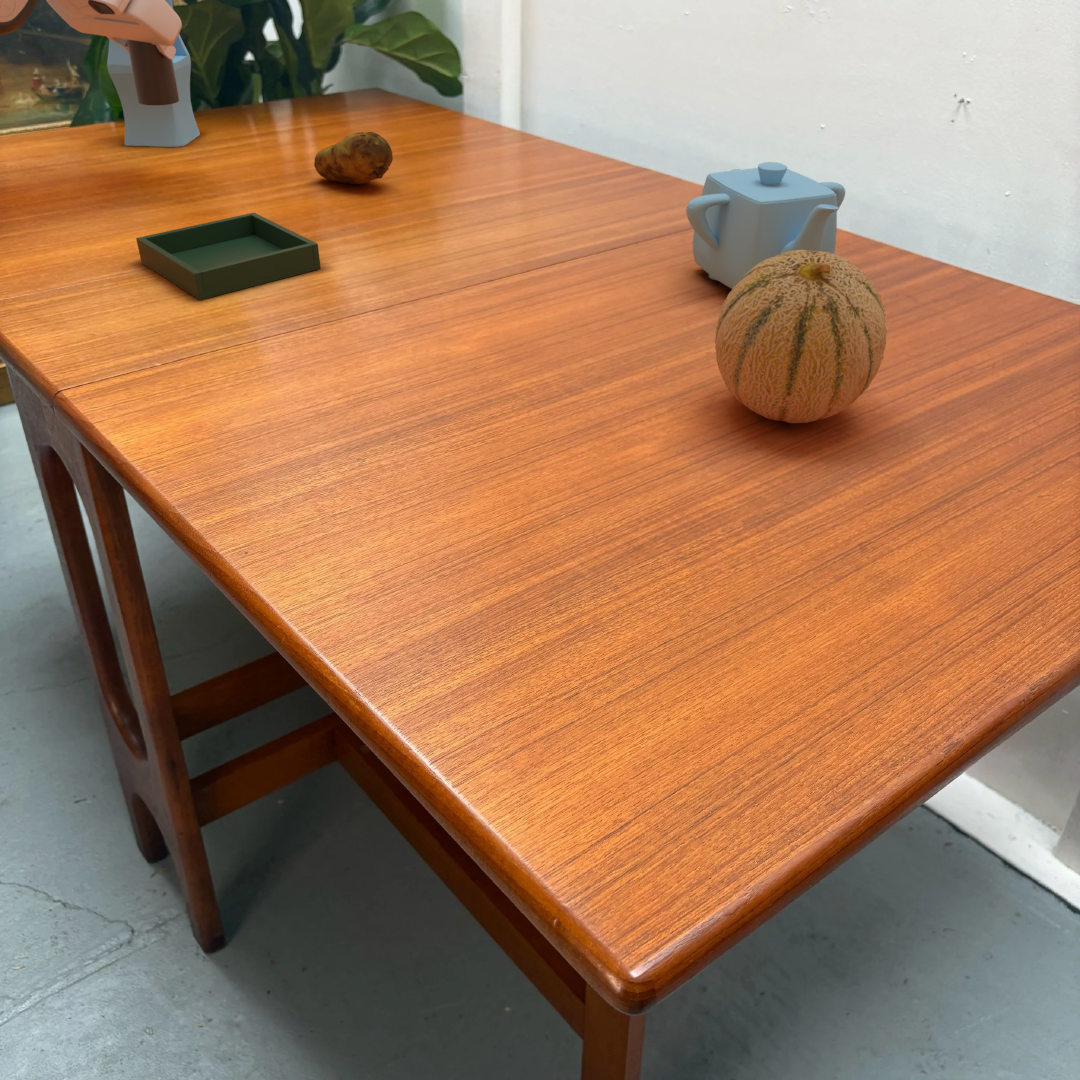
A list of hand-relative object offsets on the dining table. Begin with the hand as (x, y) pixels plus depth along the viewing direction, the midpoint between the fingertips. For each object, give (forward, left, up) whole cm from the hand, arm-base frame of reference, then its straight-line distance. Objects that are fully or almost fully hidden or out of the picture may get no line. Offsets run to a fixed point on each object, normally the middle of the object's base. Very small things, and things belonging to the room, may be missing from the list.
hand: (154, 52), depth 144 cm
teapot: (+32, -87, -17) cm, 94 cm away
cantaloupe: (+9, -108, -17) cm, 109 cm away
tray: (-12, -41, -17) cm, 46 cm away
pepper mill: (-1, 0, -6) cm, 6 cm away
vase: (+8, +22, -17) cm, 29 cm away
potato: (+18, -22, -17) cm, 33 cm away
